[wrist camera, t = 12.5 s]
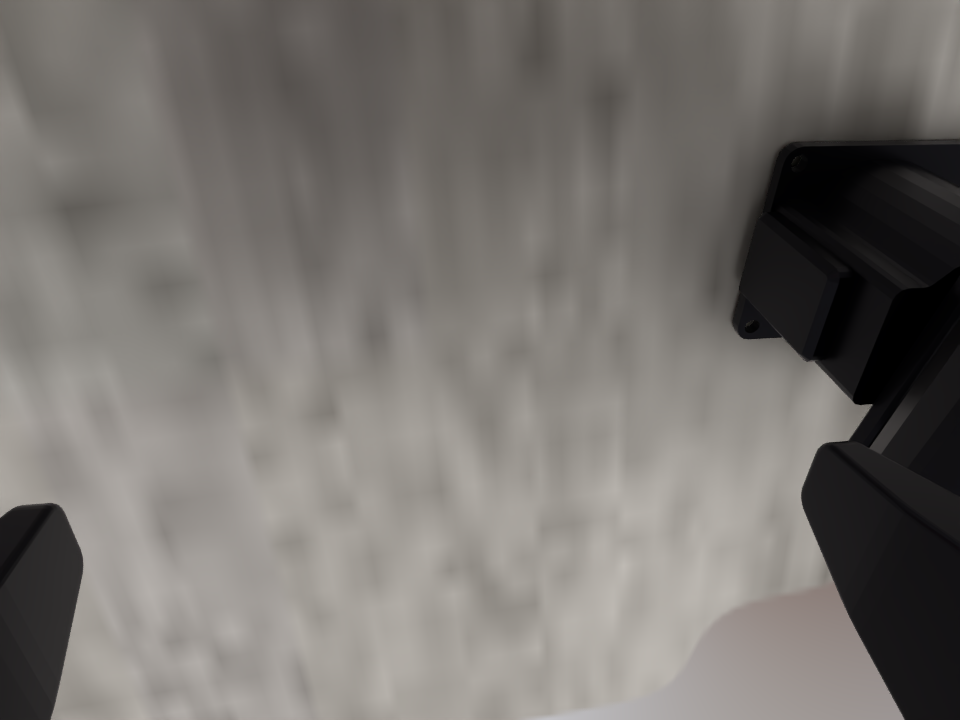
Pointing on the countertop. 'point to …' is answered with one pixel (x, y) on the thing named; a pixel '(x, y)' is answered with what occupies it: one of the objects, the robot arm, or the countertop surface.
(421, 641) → the countertop surface
